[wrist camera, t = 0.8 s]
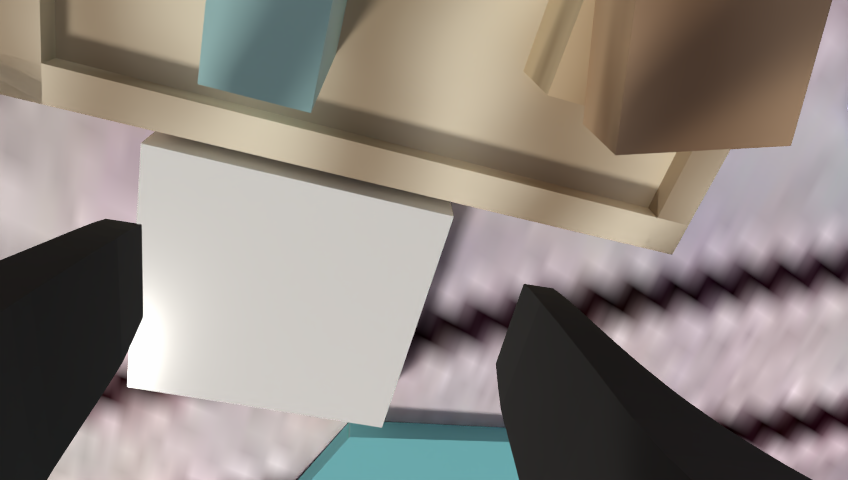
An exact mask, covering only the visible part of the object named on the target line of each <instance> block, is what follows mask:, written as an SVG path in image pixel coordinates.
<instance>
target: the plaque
mask: <svg viewBox="0 0 848 480" xmlns="http://www.w3.org/2000/svg"><path fill="white" fill-rule="evenodd" d="M298 480H519V478H518V474H517V470H516V466H515V462H514V458H513V455H512V451H511V447H510V443H509V439H508V435H507V431H506V428H502V427H482V426H462V425H442V424H422V423H403V422H384V423H383V426H382V428H381V427H374V426H368V425H362V424H356V423H348V424H347V425H346V426H345V427H344V428H343V429H342V431H341V432H340V433H339V434H338V435H337V436H336V437H335V439H334V440H333V441H332V442H331V443H330V444H329V445H328V446H327V448H326V449H325V450H324V451H323V452H322V453H321V454H320V456H319V457H318V458H317V459H316V460H315V461H314V462H313V463H312V465H311V466H310V467H309V468H308V469H307V470H306V471H305V473H304V474H303V475H302V476H301V477H300V478H299V479H298Z"/></svg>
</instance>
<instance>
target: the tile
mask: <svg viewBox="0 0 848 480" xmlns="http://www.w3.org/2000/svg"><path fill="white" fill-rule="evenodd" d="M453 218H454V215H453V211H452V207H451V203H450V201H446V200H441V199H437V198H433V197H429V196H425V195H420V194H416V193H412V192H408V191H404V190H399V189H395V188H391V187H387V186H383V185H379V184H374V183H370V182H366V181H362V180H358V179H353V178H349V177H345V176H341V175H337V174H332V173H328V172H324V171H320V170H316V169H312V168H307V167H303V166H299V165H295V164H291V163H286V162H282V161H278V160H274V159H270V158H266V157H261V156H257V155H253V154H249V153H245V152H240V151H236V150H232V149H228V148H224V147H219V146H215V145H211V144H207V143H203V142H199V141H194V140H190V139H186V138H182V137H178V136H173V135H169V134H165V133H161V132H157V131H155V132H154V133H153V134H151V135H150V136H149V137H148V138H147V139H145V140H144V141H143V142H142V143H141V151H140V168H139V186H138V203H137V221H136V224H142V268H143V319H142V321H141V323H140V326H139V328H138V330H137V332H136V335H135V337H134V339H133V341H132V343H131V346H130V348H129V361H128V378H127V387H131V388H137V389H143V390H150V391H156V392H162V393H168V394H175V395H181V396H187V397H193V398H200V399H206V400H212V401H218V402H225V403H231V404H237V405H243V406H250V407H256V408H262V409H268V410H275V411H281V412H287V413H293V414H300V415H306V416H312V417H318V418H325V419H331V420H337V421H343V422H349V423H356V424H362V425H368V426H374V427H381V428H382V426H383V423H384V420H385V417H386V414H387V411H388V408H389V406H390V403H391V400H392V397H393V394H394V391H395V388H396V385H397V382H398V379H399V376H400V373H401V370H402V367H403V364H404V362H405V359H406V356H407V353H408V350H409V347H410V344H411V341H412V338H413V335H414V332H415V329H416V326H417V323H418V320H419V317H420V315H421V312H422V309H423V306H424V303H425V300H426V297H427V294H428V291H429V288H430V285H431V282H432V279H433V276H434V273H435V271H436V268H437V265H438V262H439V259H440V256H441V253H442V250H443V247H444V244H445V241H446V238H447V235H448V232H449V229H450V226H451V224H452V221H453Z"/></svg>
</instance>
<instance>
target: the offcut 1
mask: <svg viewBox="0 0 848 480" xmlns="http://www.w3.org/2000/svg"><path fill="white" fill-rule="evenodd" d="M594 7H595V0H549V1H548V4H547V6H546V9H545V12H544V15H543V18H542V20H541V23H540V26H539V29H538V32H537V35H536V37H535V40H534V43H533V46H532V49H531V51H530V54H529V57H528V60H527V63H526V65H525V68H524V72H525V73H526V74H527V75H528V76H529V77H530V78H531V79H532V80H533V81H534V82H535V83H536V84H537V85H538V86H539V87H540V88H541V89H542V90H543V91H544V92H545V93H546V94H547V95H548V96H552V97H555V98H559V99H562V100H566V101H569V102H573V103H576V104H580V105H583V106H585V98H586V88H587V78H588V68H589V58H590V48H591V38H592V27H593V17H594Z"/></svg>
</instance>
